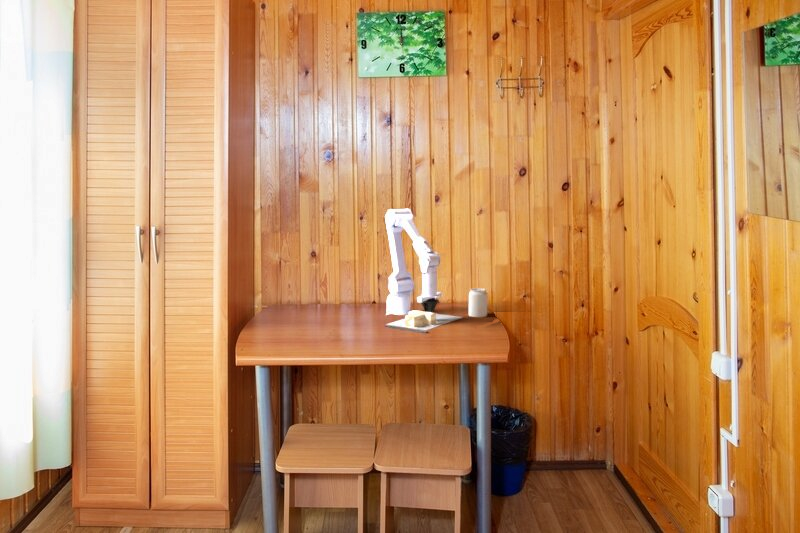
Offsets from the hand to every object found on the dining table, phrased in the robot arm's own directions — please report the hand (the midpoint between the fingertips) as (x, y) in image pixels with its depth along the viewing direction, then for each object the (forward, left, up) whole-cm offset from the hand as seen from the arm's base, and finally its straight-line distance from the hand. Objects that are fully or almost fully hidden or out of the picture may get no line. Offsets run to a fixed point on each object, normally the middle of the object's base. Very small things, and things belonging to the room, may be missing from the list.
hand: (429, 317), depth 260 cm
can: (+11, +20, -2) cm, 23 cm away
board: (-1, -1, -2) cm, 3 cm away
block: (0, -8, -1) cm, 9 cm away
